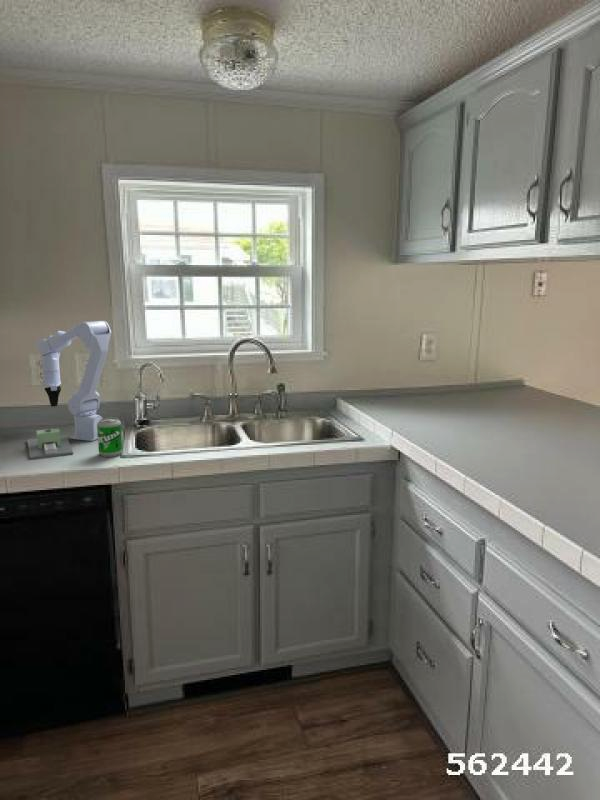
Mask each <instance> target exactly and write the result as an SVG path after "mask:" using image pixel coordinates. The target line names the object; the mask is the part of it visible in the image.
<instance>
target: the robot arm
mask: <svg viewBox="0 0 600 800" xmlns="http://www.w3.org/2000/svg"><path fill="white" fill-rule="evenodd" d="M111 337H112V330H111V328H110V325H109V323H108V322H107V321H106V320H97V321H81V322H78V323H76V325H75V326H73V327H72V328H70V329H69V330H67V331H62V330H57V331H56V332H55V334H53V335H49V336H48V337H47V338H40V339H39V340H38V342H37V344H36V347H37V350H38V351H37V352H38V353H39V354H40V355H41V362H42V374H43V375H42V376H43V382H40V386H46V387H44V391H45V392H46V394H47V396H48V401H49V404H50V406H51V407H53V408H54V407H58V405H59V396H60V393H61V391H62V387H61V386H60V385H62V381H61V372H60V357H61V352H62V350H63V349H65V348H68V347H69V346H70V345H71V344H72V341H73V340H76V339H78V338H80V340H81V341H82V343H83V344H84V346H85V347H86V349H88V350H89V351H90V353H89V356H88V359H87V363H86V365H85V366H86V367H85V370H84V373H83V376H82V379H81V383H80V386H79V388H78V389H77V390H76V391H74V392H73V394H72V396H71V398H69V400H68V402H67V408H68V410H69V412H70V414H71V415H72V416H73V418H74V431H75V432H74V433H75V435H73V436H71V437H70V440H78V441H79V440H80V441H89V442H94V441H96V440H98V432H97V423H98V422H99V420H100V419H103V417H102V416H101V415H99V414H97V410H99V408H100V398H101V395H100V393H99V392H98V391H97V389H98V385H99V382H100V379H101V376H102V373H103V369H104V366H105V363H106V361H107V357H108V353H109V343H110V339H111Z"/></svg>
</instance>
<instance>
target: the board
mask: <svg viewBox="0 0 600 800" xmlns="http://www.w3.org/2000/svg"><path fill="white" fill-rule="evenodd" d="M60 440H61V446H60V447H57V444H56V442H47V443H42V449H39V448H38V441H37V438H31V439H29V438H28V439H27V440H26V442H27V447H28V448H27V449H28V455H29V460H37V459H36V458H38V459H45V458H44V457H47V458H53V457H52V456H55V457H62V456H61V455H63V456H68V455H69V454H72V455H74V452H73V450H72V446H71V443H70V441H69V439H68V436H67V435H60ZM69 456H70V455H69Z"/></svg>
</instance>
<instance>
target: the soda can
mask: <svg viewBox="0 0 600 800" xmlns="http://www.w3.org/2000/svg"><path fill="white" fill-rule="evenodd" d="M121 422H122V421H121V420H119V418H117V417H102V419H100V420H99V422H98V423H97V432H98V439H97V445H98V448H97V449H98V454H100V455H101V456H102V457H106V458H113V457H116V456H117V457H118V456H119V455H120V454H121V453H122V451H123V438H122V437H123V436H122V435H123V434H122V423H121Z"/></svg>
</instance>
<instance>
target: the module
mask: <svg viewBox="0 0 600 800" xmlns="http://www.w3.org/2000/svg"><path fill="white" fill-rule="evenodd" d="M60 436H61V431H60V428H45V429H39V430H37V429H36V439H37V441H38V448H39V449H42V443H47V442H56V444H57V447H60V446H61V440H60Z"/></svg>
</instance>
